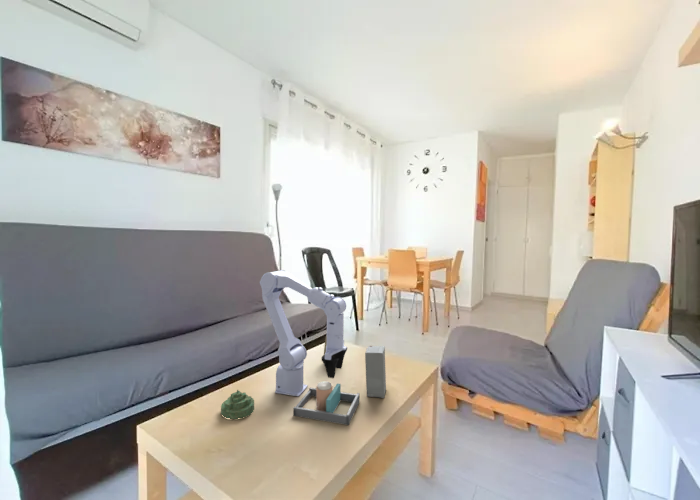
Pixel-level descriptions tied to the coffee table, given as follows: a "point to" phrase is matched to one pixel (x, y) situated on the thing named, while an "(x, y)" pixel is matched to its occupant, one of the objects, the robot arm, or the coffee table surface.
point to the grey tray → (327, 415)
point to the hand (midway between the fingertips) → (334, 372)
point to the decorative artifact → (237, 406)
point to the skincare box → (375, 371)
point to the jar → (322, 394)
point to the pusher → (333, 399)
